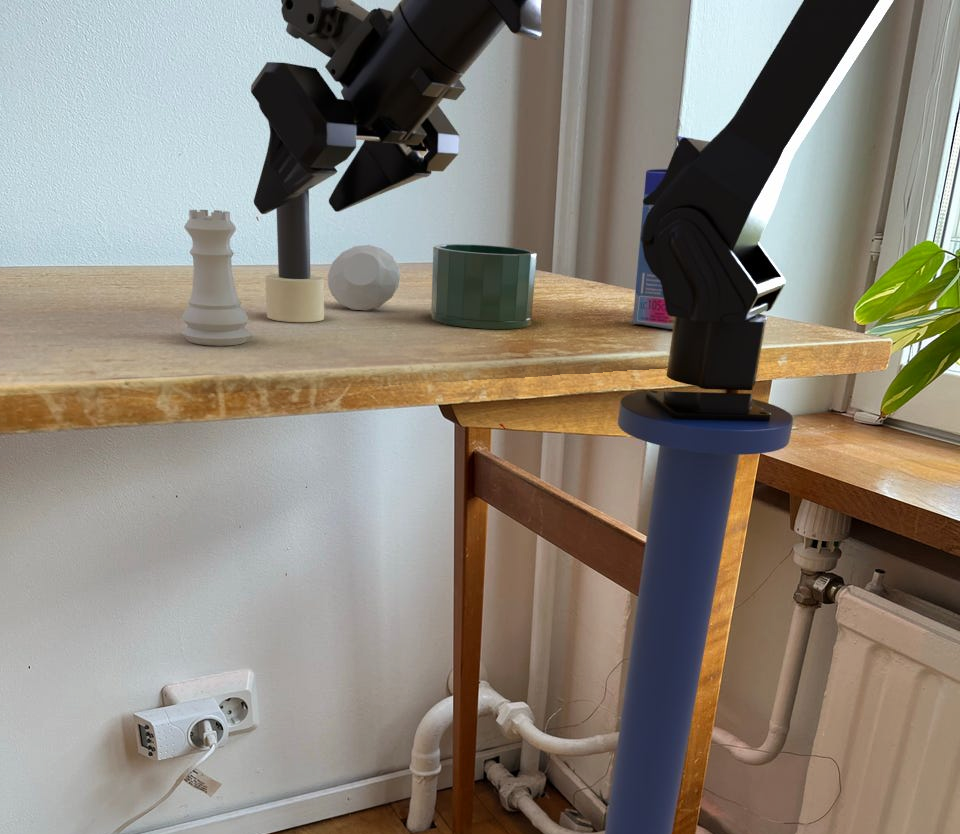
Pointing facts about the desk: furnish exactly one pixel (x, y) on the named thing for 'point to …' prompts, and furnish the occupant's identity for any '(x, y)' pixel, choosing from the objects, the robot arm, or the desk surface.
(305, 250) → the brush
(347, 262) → the gemstone
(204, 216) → the rook chess piece
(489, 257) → the green faceted pot
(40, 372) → the desk surface
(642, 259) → the ink cartridge box
